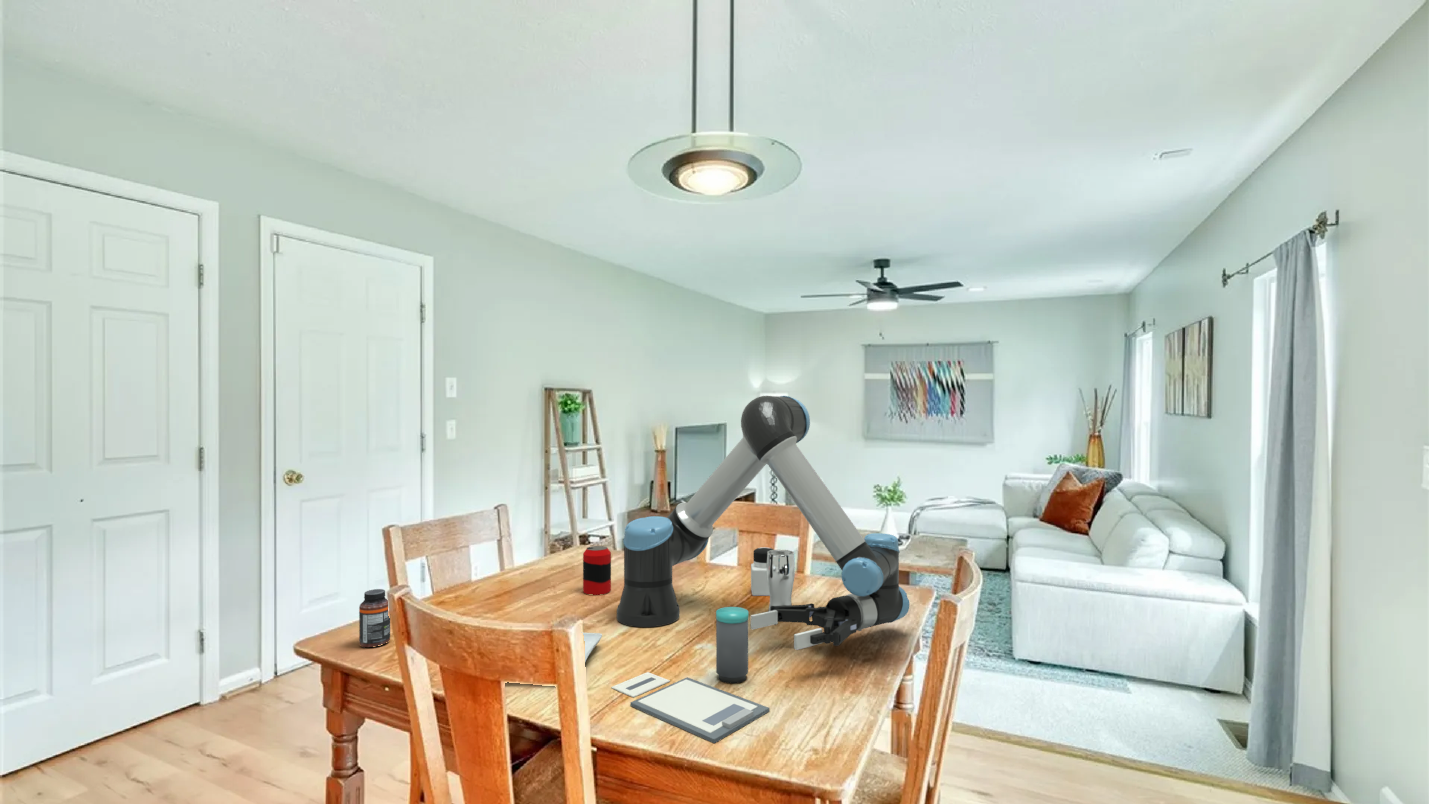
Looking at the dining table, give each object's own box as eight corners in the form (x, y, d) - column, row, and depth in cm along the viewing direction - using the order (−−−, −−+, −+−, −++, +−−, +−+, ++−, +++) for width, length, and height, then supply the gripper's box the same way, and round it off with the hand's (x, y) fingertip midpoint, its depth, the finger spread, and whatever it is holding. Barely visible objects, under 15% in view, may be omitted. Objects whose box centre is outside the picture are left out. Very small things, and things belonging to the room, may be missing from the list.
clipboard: (630, 705, 113) (630, 698, 113) (687, 680, 123) (687, 673, 123) (714, 743, 100) (714, 734, 100) (769, 711, 111) (769, 703, 111)
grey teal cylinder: (709, 678, 124) (709, 612, 124) (730, 668, 129) (730, 604, 129) (734, 687, 120) (734, 619, 120) (755, 677, 125) (755, 611, 125)
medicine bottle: (778, 596, 178) (778, 551, 178) (752, 596, 178) (752, 551, 178) (776, 588, 185) (776, 545, 186) (750, 588, 186) (750, 545, 186)
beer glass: (793, 618, 160) (793, 556, 160) (764, 616, 161) (764, 554, 161) (795, 609, 166) (795, 549, 166) (768, 607, 168) (768, 548, 168)
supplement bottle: (363, 640, 144) (363, 588, 144) (393, 638, 146) (393, 586, 146) (355, 650, 139) (355, 596, 139) (386, 647, 140) (387, 593, 140)
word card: (611, 688, 120) (611, 686, 120) (647, 673, 127) (647, 671, 127) (633, 697, 116) (633, 696, 116) (670, 681, 123) (670, 680, 123)
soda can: (584, 588, 186) (584, 545, 186) (611, 587, 187) (611, 544, 187) (581, 596, 178) (581, 551, 178) (610, 595, 179) (610, 550, 179)
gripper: (895, 648, 131) (816, 672, 120) (810, 615, 152) (735, 633, 140) (895, 610, 131) (816, 630, 120) (810, 582, 152) (735, 597, 140)
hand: (772, 631), depth 130 cm, fingers open, 13 cm apart
